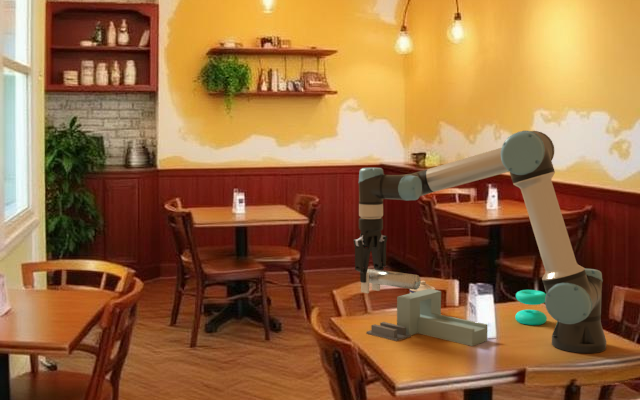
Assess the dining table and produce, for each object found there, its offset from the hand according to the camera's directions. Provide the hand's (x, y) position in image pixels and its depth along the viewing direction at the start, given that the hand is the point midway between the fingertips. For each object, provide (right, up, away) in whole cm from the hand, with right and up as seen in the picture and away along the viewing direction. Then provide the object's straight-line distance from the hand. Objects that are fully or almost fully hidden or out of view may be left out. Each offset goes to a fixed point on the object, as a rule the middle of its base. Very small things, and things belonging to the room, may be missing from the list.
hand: (370, 291), depth 239 cm
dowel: (+5, +2, -6) cm, 8 cm away
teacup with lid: (+19, -11, +22) cm, 32 cm away
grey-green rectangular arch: (+15, -12, +2) cm, 20 cm away
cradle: (+5, -13, -4) cm, 15 cm away
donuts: (+53, -12, +11) cm, 56 cm away
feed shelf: (+24, -13, -6) cm, 28 cm away
